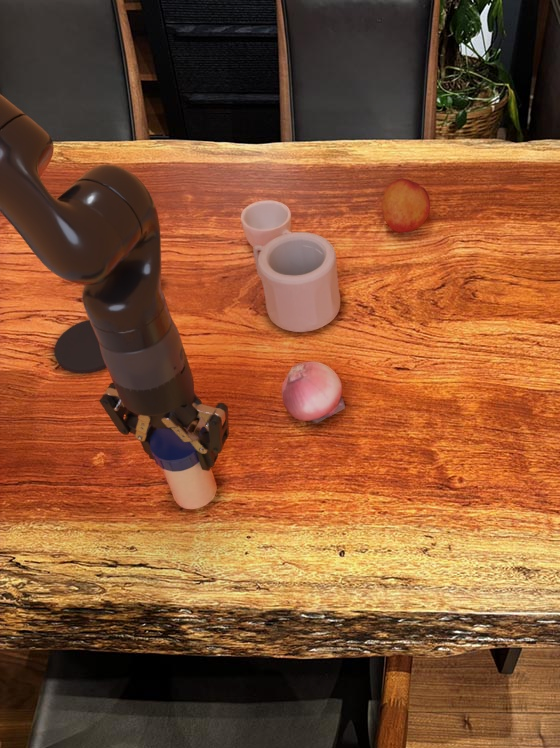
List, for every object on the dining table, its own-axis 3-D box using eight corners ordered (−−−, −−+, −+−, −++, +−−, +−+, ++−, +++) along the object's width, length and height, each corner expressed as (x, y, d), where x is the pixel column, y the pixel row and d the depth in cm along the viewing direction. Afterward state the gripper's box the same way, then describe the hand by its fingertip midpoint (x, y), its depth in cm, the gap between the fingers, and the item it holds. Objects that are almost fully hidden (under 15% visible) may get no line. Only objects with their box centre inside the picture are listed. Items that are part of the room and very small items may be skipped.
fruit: (441, 224, 129) (442, 182, 123) (407, 248, 125) (407, 206, 119) (404, 204, 132) (404, 162, 126) (371, 227, 129) (368, 186, 123)
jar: (171, 511, 95) (151, 463, 87) (175, 475, 98) (155, 425, 91) (216, 507, 95) (199, 458, 87) (217, 470, 98) (201, 421, 91)
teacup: (235, 245, 127) (230, 217, 123) (270, 221, 131) (265, 193, 127) (280, 271, 122) (275, 243, 118) (315, 245, 126) (311, 217, 122)
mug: (355, 299, 118) (351, 246, 110) (311, 344, 112) (303, 291, 104) (283, 267, 123) (274, 214, 115) (237, 309, 117) (225, 256, 110)
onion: (301, 379, 108) (295, 342, 102) (355, 393, 106) (351, 356, 100) (275, 423, 103) (267, 386, 97) (330, 439, 101) (326, 403, 95)
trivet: (50, 377, 110) (48, 373, 109) (62, 325, 116) (60, 321, 116) (123, 370, 110) (122, 366, 109) (131, 319, 117) (130, 315, 116)
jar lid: (151, 474, 88) (146, 463, 87) (156, 432, 92) (151, 420, 91) (205, 469, 88) (201, 458, 87) (207, 427, 92) (204, 415, 91)
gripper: (62, 374, 78) (111, 473, 91) (198, 400, 75) (230, 498, 88) (98, 321, 83) (140, 422, 95) (228, 343, 80) (254, 444, 92)
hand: (183, 458), depth 91 cm, fingers closed on jar lid, 5 cm apart
